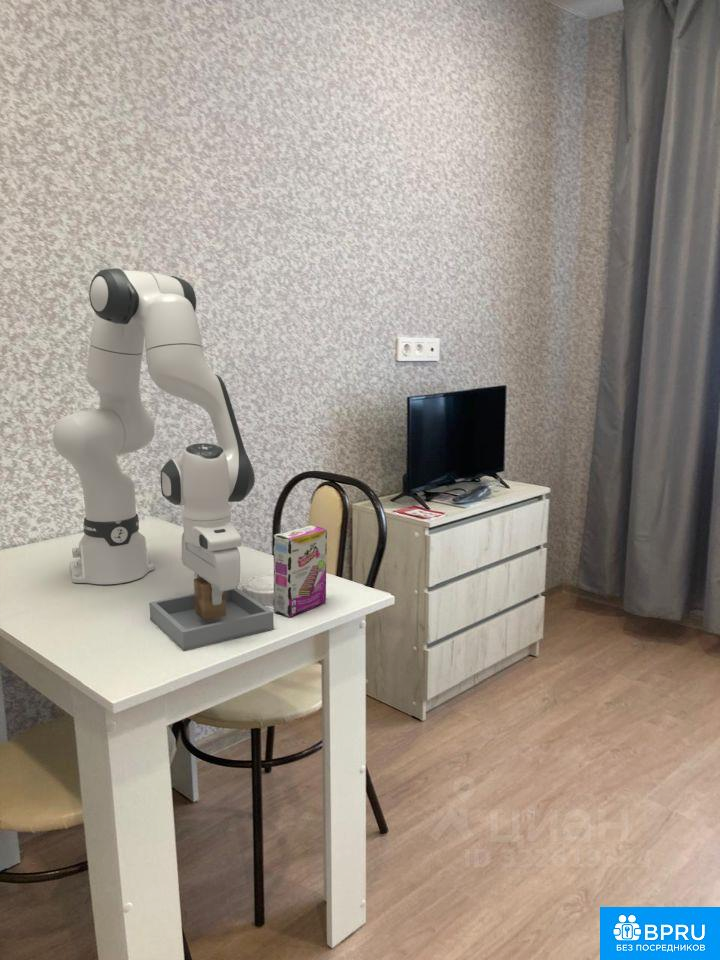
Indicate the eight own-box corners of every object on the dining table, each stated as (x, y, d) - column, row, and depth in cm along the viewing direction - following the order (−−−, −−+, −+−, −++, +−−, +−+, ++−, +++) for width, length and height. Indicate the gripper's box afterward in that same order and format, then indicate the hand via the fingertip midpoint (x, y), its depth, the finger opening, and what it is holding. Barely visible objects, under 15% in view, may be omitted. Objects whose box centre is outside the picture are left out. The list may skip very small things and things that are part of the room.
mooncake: (262, 584, 168) (262, 569, 168) (308, 592, 163) (308, 577, 162) (230, 601, 158) (230, 585, 157) (278, 610, 153) (278, 594, 152)
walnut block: (195, 613, 145) (193, 578, 143) (216, 608, 147) (215, 574, 146) (204, 620, 141) (202, 585, 140) (226, 615, 144) (225, 581, 142)
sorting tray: (150, 619, 147) (149, 602, 146) (234, 601, 157) (233, 585, 156) (183, 650, 132) (182, 632, 132) (273, 629, 142) (273, 611, 141)
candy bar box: (290, 618, 148) (289, 539, 144) (273, 612, 151) (271, 534, 148) (328, 603, 156) (327, 527, 153) (310, 598, 159) (310, 523, 156)
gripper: (172, 520, 148) (174, 587, 150) (213, 545, 131) (215, 619, 134) (202, 516, 151) (204, 581, 154) (245, 539, 134) (247, 612, 137)
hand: (209, 599), depth 144 cm, fingers closed on walnut block, 4 cm apart
